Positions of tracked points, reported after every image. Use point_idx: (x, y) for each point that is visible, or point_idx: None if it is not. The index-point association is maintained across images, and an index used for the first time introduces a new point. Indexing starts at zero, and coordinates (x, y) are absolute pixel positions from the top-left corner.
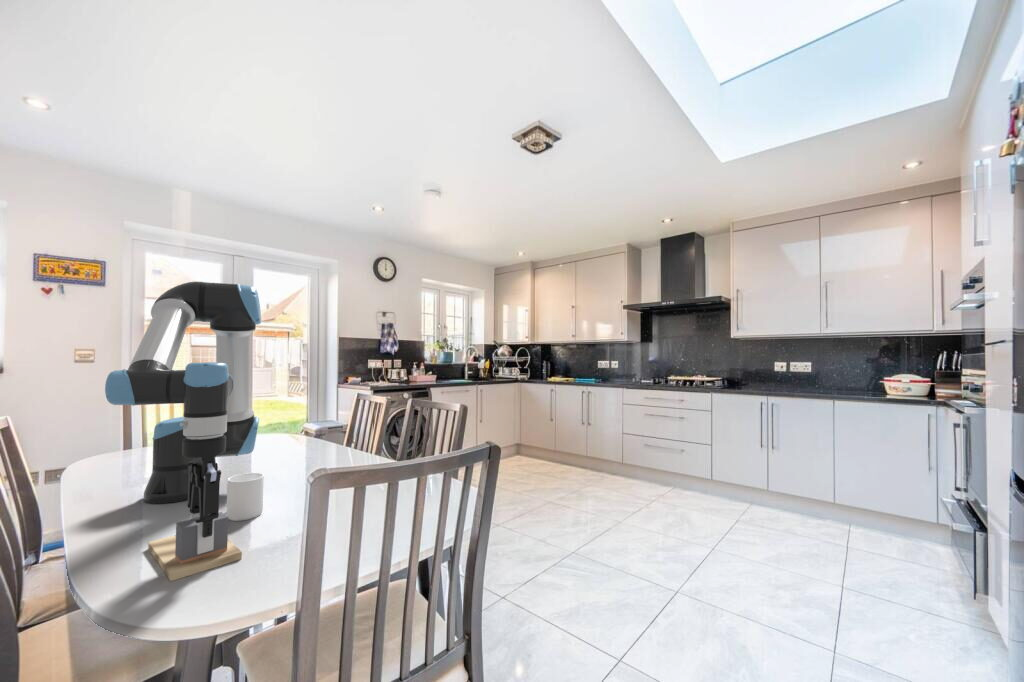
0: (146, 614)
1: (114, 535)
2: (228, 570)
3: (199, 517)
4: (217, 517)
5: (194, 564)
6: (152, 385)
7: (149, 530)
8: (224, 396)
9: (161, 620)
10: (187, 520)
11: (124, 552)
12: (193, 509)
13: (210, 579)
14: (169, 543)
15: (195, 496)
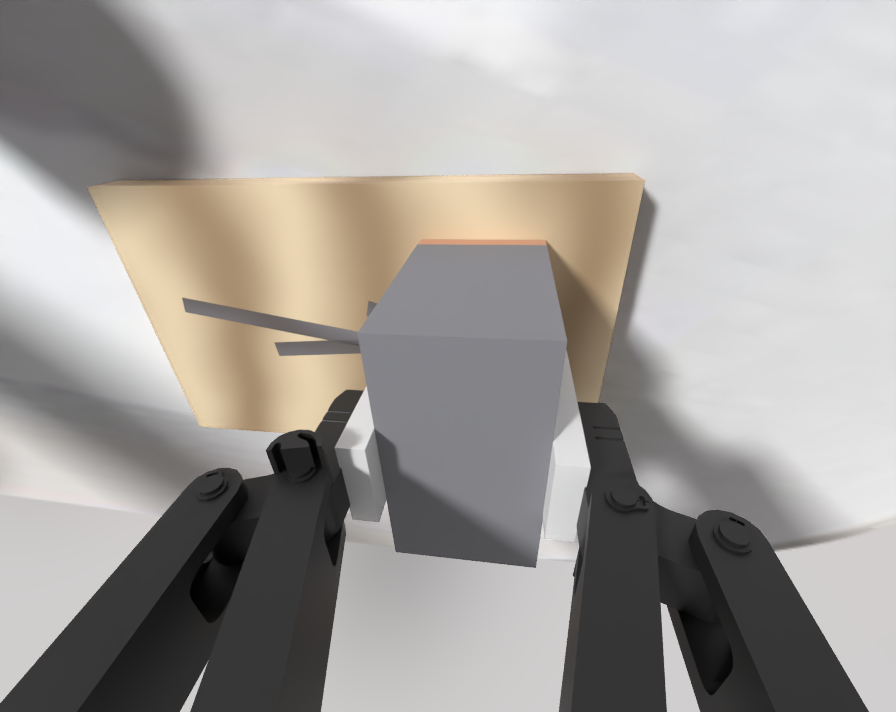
0: (753, 517)
1: (35, 438)
2: (706, 269)
3: (387, 466)
4: (744, 523)
5: (581, 388)
6: None
7: (11, 364)
8: None
9: (844, 509)
10: (399, 517)
11: (212, 452)
12: (339, 541)
13: (715, 348)
14: (258, 387)
15: (319, 684)
